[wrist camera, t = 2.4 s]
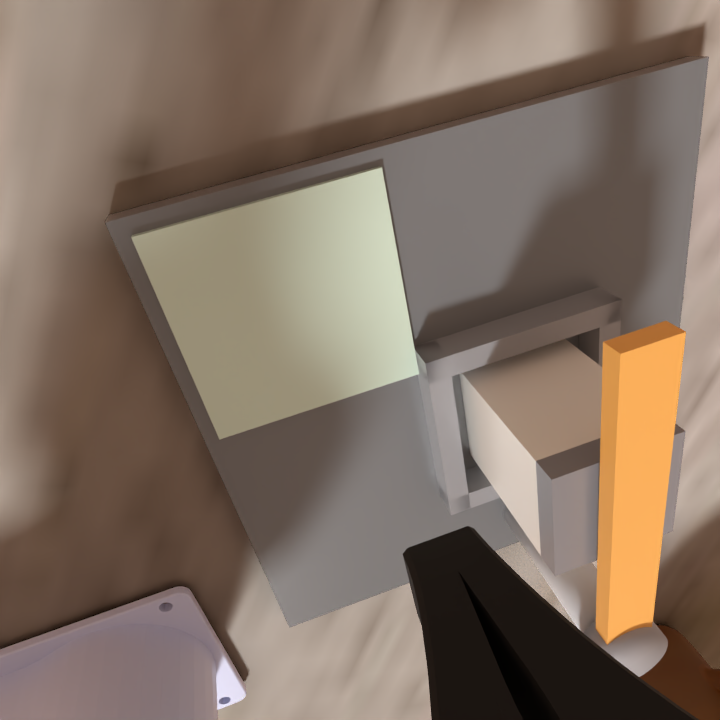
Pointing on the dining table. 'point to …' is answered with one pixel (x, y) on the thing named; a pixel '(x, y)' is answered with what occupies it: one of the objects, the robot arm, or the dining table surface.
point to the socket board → (410, 314)
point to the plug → (547, 447)
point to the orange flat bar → (634, 489)
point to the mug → (686, 677)
